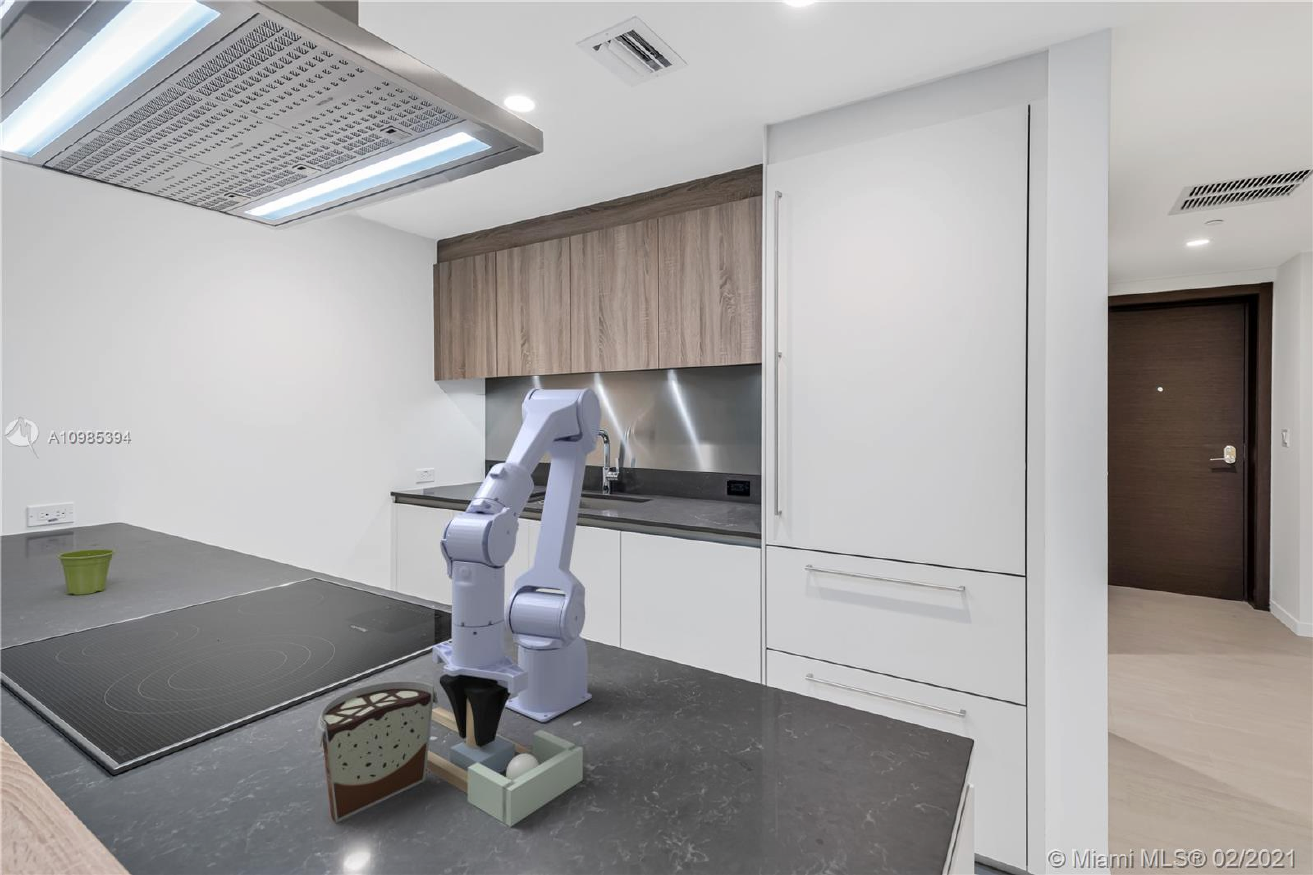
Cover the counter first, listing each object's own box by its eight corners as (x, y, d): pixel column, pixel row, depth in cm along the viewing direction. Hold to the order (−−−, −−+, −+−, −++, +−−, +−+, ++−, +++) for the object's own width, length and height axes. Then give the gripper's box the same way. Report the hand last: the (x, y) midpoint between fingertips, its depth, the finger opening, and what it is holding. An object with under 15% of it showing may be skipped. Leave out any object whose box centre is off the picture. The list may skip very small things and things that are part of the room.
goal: (540, 759, 71) (540, 729, 71) (582, 780, 67) (582, 748, 67) (467, 801, 63) (467, 767, 63) (510, 827, 59) (510, 790, 59)
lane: (438, 715, 82) (439, 706, 82) (532, 761, 71) (532, 751, 71) (378, 741, 75) (378, 731, 75) (471, 795, 64) (471, 784, 64)
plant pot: (116, 584, 145) (116, 547, 144) (113, 593, 137) (113, 554, 137) (60, 590, 139) (60, 551, 139) (54, 600, 131) (54, 559, 131)
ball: (531, 784, 67) (520, 752, 68) (551, 778, 66) (539, 744, 67) (506, 800, 65) (495, 766, 66) (525, 793, 63) (514, 758, 64)
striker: (486, 750, 73) (487, 687, 73) (514, 764, 70) (515, 699, 70) (450, 769, 69) (450, 702, 69) (478, 785, 66) (479, 715, 66)
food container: (408, 755, 72) (409, 669, 72) (437, 775, 68) (438, 684, 68) (293, 804, 62) (293, 706, 62) (319, 830, 58) (319, 725, 58)
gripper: (409, 615, 71) (408, 732, 71) (491, 643, 62) (489, 776, 63) (461, 601, 77) (460, 710, 77) (542, 625, 68) (541, 747, 68)
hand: (477, 738), depth 70 cm, fingers closed on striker, 2 cm apart
